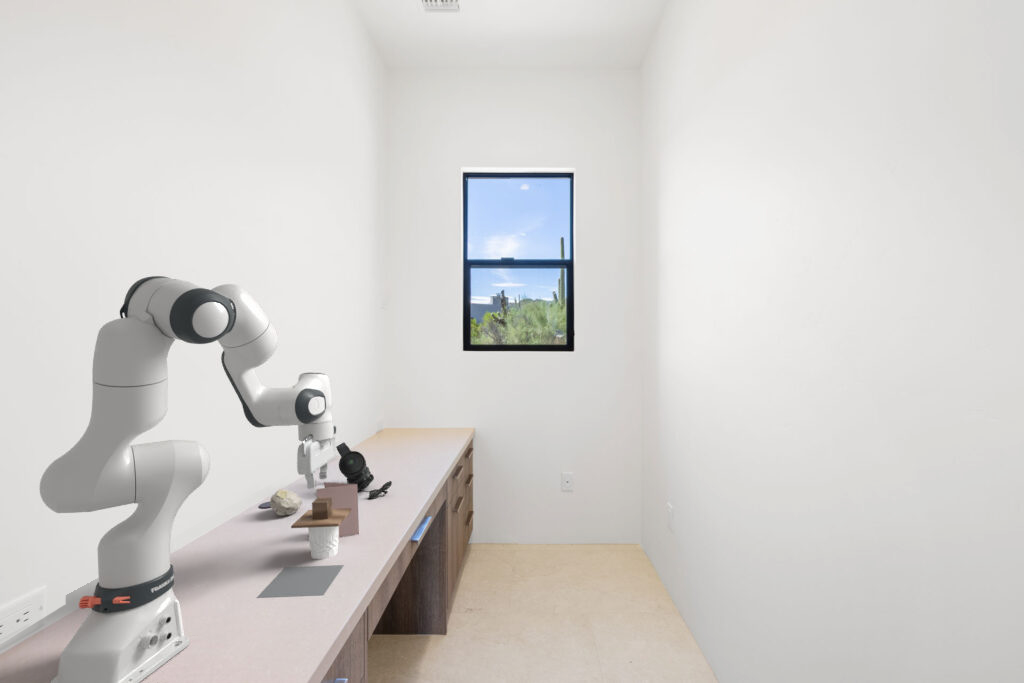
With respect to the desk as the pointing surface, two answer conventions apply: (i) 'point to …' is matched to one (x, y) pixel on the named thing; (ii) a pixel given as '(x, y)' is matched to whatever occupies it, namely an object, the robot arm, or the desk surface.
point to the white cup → (323, 541)
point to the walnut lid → (322, 515)
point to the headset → (358, 470)
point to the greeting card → (343, 504)
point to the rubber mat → (301, 581)
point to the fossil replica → (285, 502)
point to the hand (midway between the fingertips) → (317, 483)
